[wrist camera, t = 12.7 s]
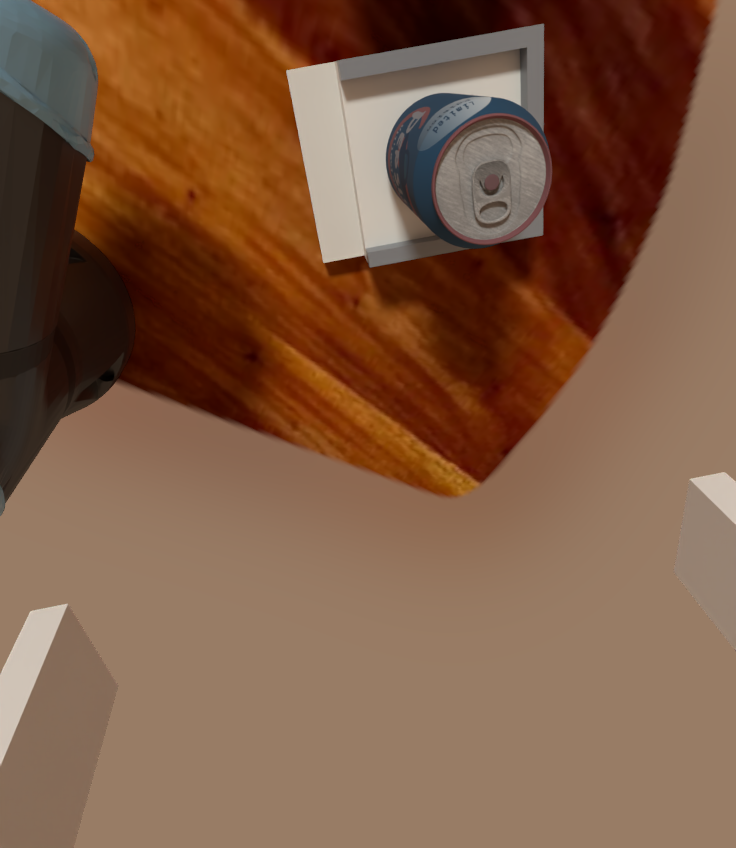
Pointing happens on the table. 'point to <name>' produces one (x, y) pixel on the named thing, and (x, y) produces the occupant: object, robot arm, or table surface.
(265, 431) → the table surface
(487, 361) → the table surface
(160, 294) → the table surface
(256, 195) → the table surface
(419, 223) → the dock
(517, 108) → the soda can
